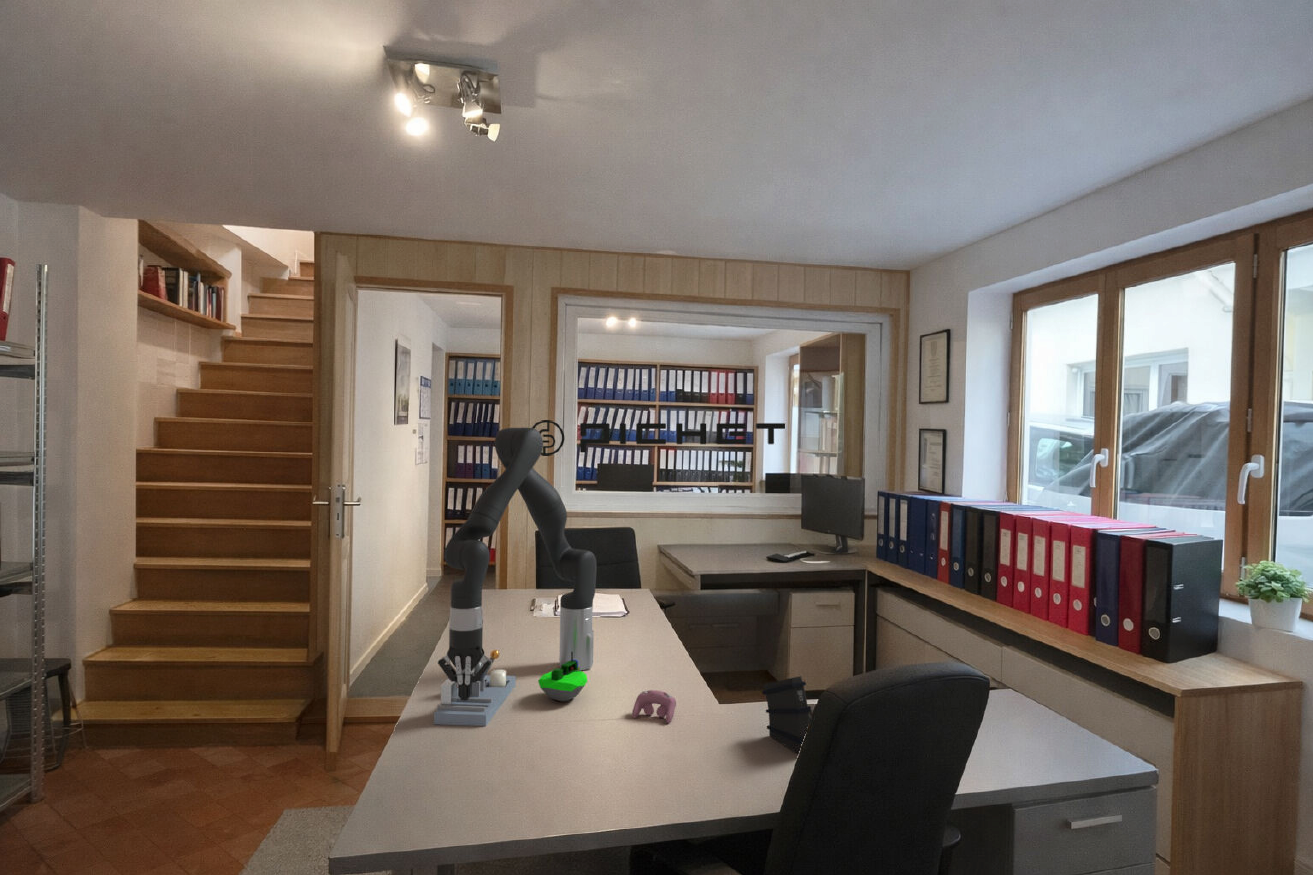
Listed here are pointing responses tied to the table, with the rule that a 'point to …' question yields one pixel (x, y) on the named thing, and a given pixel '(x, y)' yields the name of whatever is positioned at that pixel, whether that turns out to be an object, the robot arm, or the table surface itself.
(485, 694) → the panel
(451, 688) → the slider knob
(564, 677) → the green floating island model
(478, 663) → the button
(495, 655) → the toggle lever
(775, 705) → the magazine
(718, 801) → the table surface
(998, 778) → the table surface
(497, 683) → the button
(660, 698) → the video game controller
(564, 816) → the table surface
